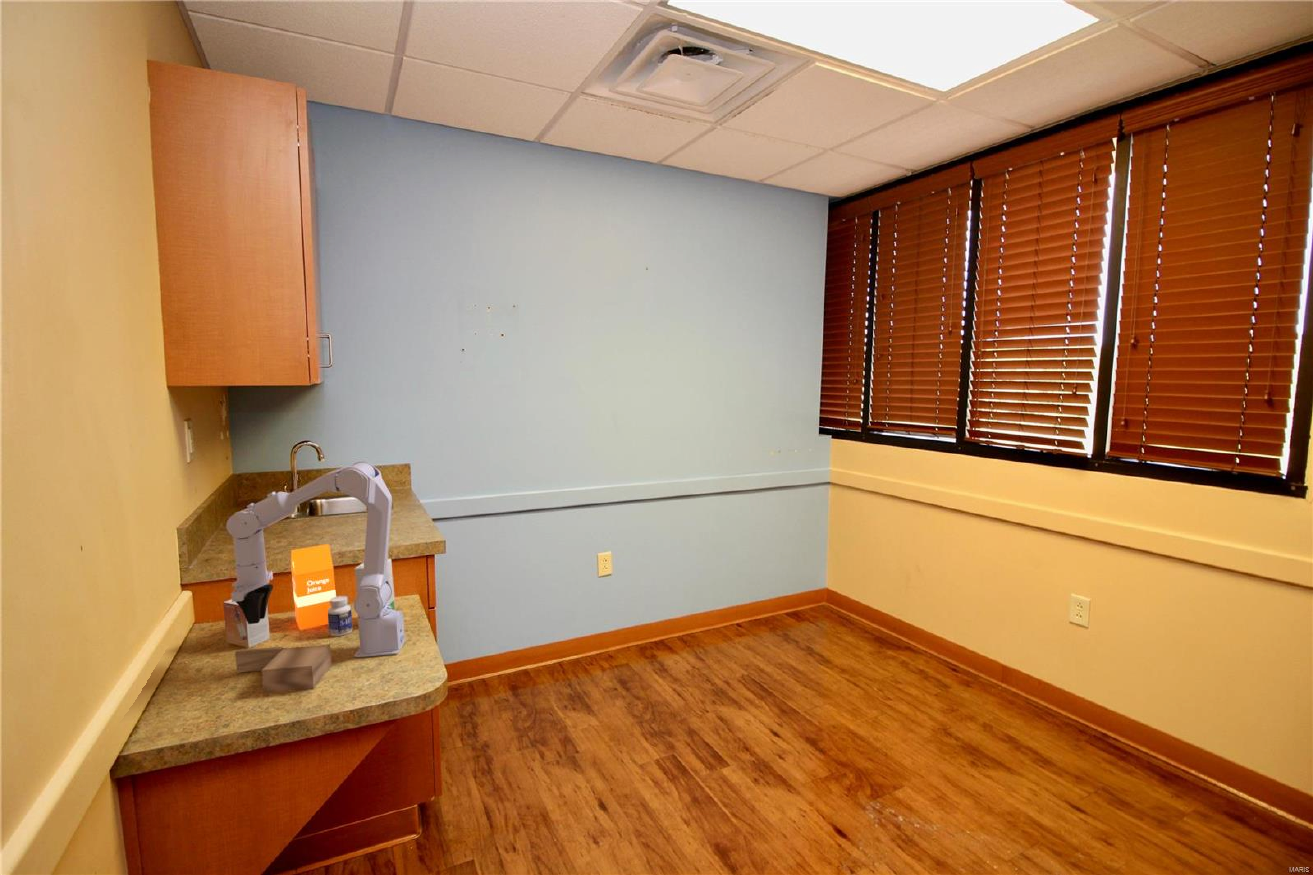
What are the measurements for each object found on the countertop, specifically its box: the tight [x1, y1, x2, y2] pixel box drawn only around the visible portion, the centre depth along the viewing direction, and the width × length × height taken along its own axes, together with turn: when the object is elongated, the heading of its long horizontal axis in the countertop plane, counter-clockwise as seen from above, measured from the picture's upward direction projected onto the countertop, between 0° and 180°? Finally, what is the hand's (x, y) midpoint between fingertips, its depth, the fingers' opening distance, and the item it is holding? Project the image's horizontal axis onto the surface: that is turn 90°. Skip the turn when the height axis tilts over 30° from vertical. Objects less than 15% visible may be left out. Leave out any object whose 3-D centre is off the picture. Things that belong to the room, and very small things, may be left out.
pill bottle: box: [327, 595, 353, 637], centre depth 155 cm, size 5×5×9 cm
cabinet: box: [261, 644, 332, 694], centre depth 132 cm, size 10×10×5 cm
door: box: [234, 646, 284, 673], centre depth 136 cm, size 1×10×5 cm, turn 99°
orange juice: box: [290, 544, 337, 631], centre depth 162 cm, size 8×9×20 cm
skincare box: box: [354, 558, 396, 610], centre depth 162 cm, size 8×7×16 cm
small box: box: [222, 598, 271, 649], centre depth 151 cm, size 8×6×10 cm
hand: (256, 620), depth 140 cm, fingers open, 2 cm apart
